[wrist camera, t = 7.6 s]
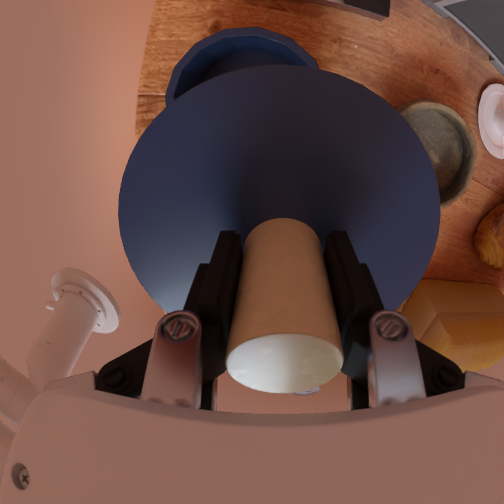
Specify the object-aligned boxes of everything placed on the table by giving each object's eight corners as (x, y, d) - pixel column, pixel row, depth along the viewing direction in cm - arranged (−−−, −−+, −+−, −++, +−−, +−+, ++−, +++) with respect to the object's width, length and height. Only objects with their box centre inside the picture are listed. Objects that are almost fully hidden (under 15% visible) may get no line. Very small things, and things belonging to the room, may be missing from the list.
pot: (200, 155, 32) (175, 180, 24) (192, 50, 24) (161, 39, 16) (311, 153, 31) (324, 178, 23) (311, 45, 23) (326, 29, 15)
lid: (168, 332, 17) (139, 422, 11) (104, 94, 9) (-23, 132, 3) (388, 333, 16) (412, 423, 10) (447, 92, 8) (569, 131, 2)
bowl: (446, 196, 31) (483, 231, 23) (337, 192, 33) (356, 231, 25) (457, 105, 24) (504, 120, 16) (338, 85, 26) (364, 86, 17)
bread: (391, 326, 47) (410, 391, 35) (419, 276, 40) (453, 344, 27) (469, 324, 47) (492, 374, 34) (497, 283, 39) (528, 333, 27)
